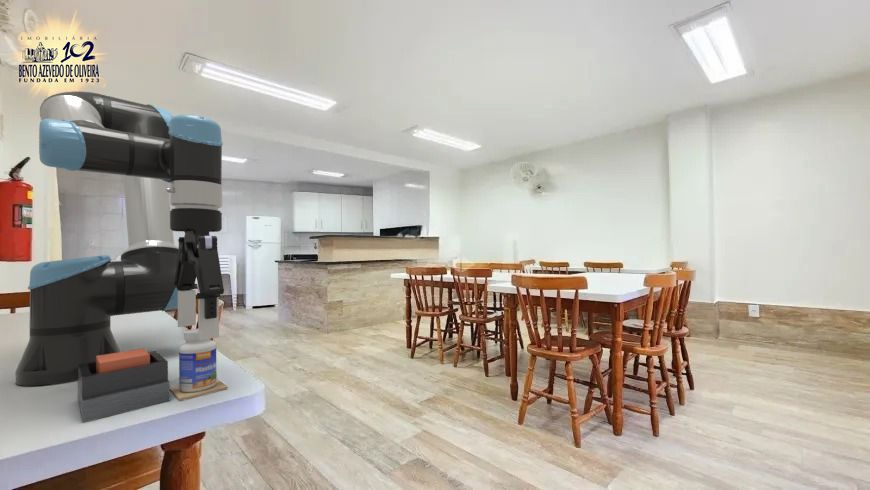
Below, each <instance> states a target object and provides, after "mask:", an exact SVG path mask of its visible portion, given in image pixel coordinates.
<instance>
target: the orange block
mask: <svg viewBox="0 0 870 490" xmlns="http://www.w3.org/2000/svg"><path fill="white" fill-rule="evenodd" d="M145 364H150V354H149V353H148V351H147V350H146V349H145V348H143V347H142V348H137V349H132V350H131V349H130V350H125V351H120V352H118V353H111V354H105V355H99V356H96V374H97V373H102V372H107V371H113V370H118V369H123V368H129V367H134V366H139V365H145Z"/></svg>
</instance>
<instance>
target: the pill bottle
mask: <svg viewBox="0 0 870 490" xmlns="http://www.w3.org/2000/svg"><path fill="white" fill-rule="evenodd" d="M183 340H184V341H185V343H183V344H181V345H180V347H179V349H178V356H179V357H178V360H179V361H178V362H179V363H178V364H179V366H178V374H179V375H178V376H179V379H178V380H179V382H178V383H179V384H178V386H179V387H180V390H181V391H183V392H197V391H202V390H205V389H208V388H211V387H213V386H214V385H215V384H216V381H217V379H218V378H217V343H216V342H215V341H214V340H211V339H205V340H198V328H192V329H188V330H185V331H183Z"/></svg>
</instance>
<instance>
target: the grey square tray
mask: <svg viewBox="0 0 870 490" xmlns="http://www.w3.org/2000/svg"><path fill="white" fill-rule="evenodd" d="M147 352H148V351H147ZM148 353H149V354H150V364H145V365H139V366H134V367H129V368H123V369H118V370H113V371H107V372H102V373H97V374H96V361H94V362H88V363H82V364H78V381H77V392H78V393H77V401H78V407H79V412H80V416H81V421H82V423H87V422H91V421H95V420H99V419H103V418H107V417H111V416H114V415H115V416H116V415H118V414H123V413H127V412H131V411H134V410H138V409H143V408H146V407H150V406H154V405H157V404H163V403H166V402H170V401H171V400H170V399H171V398H170V397H171V396H170V395H171V394H170V393H171V392H170V388H171V387H170V381H169V360H167V359H165V358H164V357H163V356H162V355H161V354H160V353H159V352H158V351H156V350H153V351H149V352H148Z"/></svg>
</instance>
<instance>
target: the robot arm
mask: <svg viewBox="0 0 870 490" xmlns="http://www.w3.org/2000/svg"><path fill="white" fill-rule="evenodd" d="M39 116H40V121H39V127H38V133H39V134H38V152H39V153H38V154H39V161H40V163H42V164H43V165H44V166H47V167H49V168H58V169H65V170H67V171H73V172H75V171H79V172H90V173H101V174H110V175H120V176H122V178H123V191H124V204H125V214H126V215H125V216H126V218H125V219H126V229H127V230H126V231H127V242H128V248H127V249H125V250H124V251H123V252H122V253H121V254H120V260H119V261H118V260H117V261H116V260H115V261H112V258H111V257H110V255H109V254H104V255H103V254H101V255H95V256H84V257H75V258H68V259H67V258H66V259H61V260H60V259H58V260H50V261H43V262H39V263H37V264H35V265H34V266H32V267H31V269H30V273H29V284H28V286H27V290H29V339H28V342H27V345H26V347H25V349H24V352H23V354H22V357H21V359H20V361H19V363H18V366H17V368H16V370H15V384H16V385H19V386H26V387H27V386H28V387H29V386H32V387H33V386H46V385H47V386H48V385H54V384H60V383H62V384H63V383H67V382H73V381H77V380H78V364H82V363H88V362H94V361H96V356H99V355H105V354H111V353H118V352H121V350H120V348H119V345H118V344H117V341H116V339H115V337H114V335H113V334H114V333H112V330H111V317H113V316H124V315H132V314H141V313H150V312H151V313H153V312H160V311H161V312H165V311H167V310H174V309H177V327H178V328H182V327H189V326H190V327H191V326H196V325H197V324H198V328H197V329H198V340H205V339H210V340H211V339H217V338H219V337H220V328H219V327H220V300H219V299H220V298H221V297H220V296H221V295H223V294H224V292H225V288H224V282H223V276H222V269H221V263H220V257H219V251H218V237H217V235H210V233H219V232H221V231H222V229H223V228H222V227H223V223H222V221H223V216H222V215H223V213H222V212H221V210H219V209H220V208H222V207H223V184H222V179H223V178H222V174H223V173H222V171H223V170H222V169H223V168H222V166H223V165H222V164H223V162H222V161H223V160H222V159H223V158H222V157H223V156H222V155H223V153H222V152H223V151H222V149H223V145H224V144H223V143H224V142H223V140H222V128H221V125H219V123H217V121H215V120H213V119H210V118H207V117H204V116H200V115H194V114H193V115H192V114H177V115H174V116H173V115H172V113H171V112H170V111H168V110H167V109H165V108H161V107H158V106H154V105H153V104H144V103H141V102H136V101H131V100H126V99H123V98H118V97H114V96H108V95H105V94H101V93H97V92H92V91H77V90H76V91H64V92H58V93H55V94H52V95H50V96H47V97H46V99H44V100H43V101H42V103H41V105H40V107H39ZM168 183H169V185H170V186H169V185H168ZM171 206H173V207H174V208H172V209H171ZM174 232H184V236H179V237H178V239H177V241H178V246H176V245H175V240H174ZM196 281H197V283H196ZM196 290H199V292H197V291H196ZM197 300H198V301H197ZM196 302H198V305H197V303H196ZM196 307H197V308H198V309H197V308H196ZM197 311H198V313H197ZM197 315H198V316H197ZM197 318H198V321H197ZM197 322H198V323H197Z"/></svg>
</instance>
